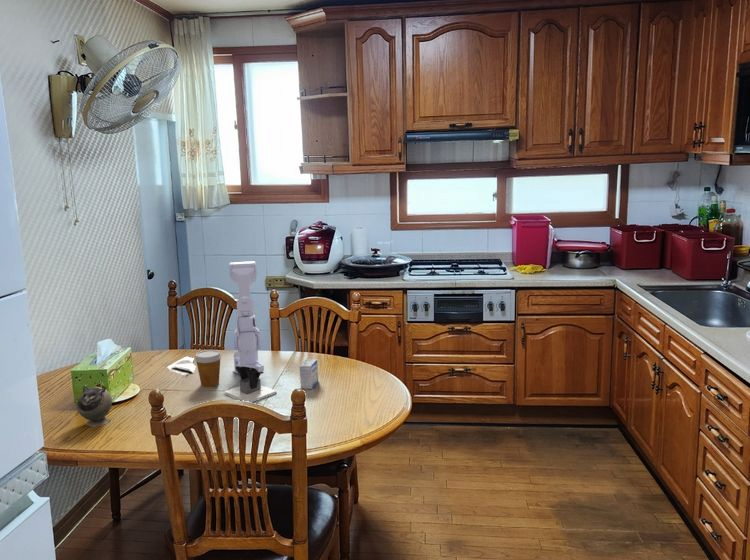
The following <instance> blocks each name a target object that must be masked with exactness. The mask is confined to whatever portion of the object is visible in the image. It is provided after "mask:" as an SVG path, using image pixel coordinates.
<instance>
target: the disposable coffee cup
mask: <svg viewBox="0 0 750 560" xmlns="http://www.w3.org/2000/svg"><path fill="white" fill-rule="evenodd" d="M221 358H222V354H221V352H220V351H219V350H216V349H205V350H201V351H198V352H196V353H195V357H194V360H195V362H196V368H197V370H198V376H199V379H200V385H201V386H200V387H203V388H214V387H217V386H219V384H220V372H221V371H220V370H221Z"/></svg>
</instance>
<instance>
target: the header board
mask: <svg viewBox="0 0 750 560" xmlns="http://www.w3.org/2000/svg"><path fill="white" fill-rule="evenodd" d="M275 393H276V394H277V390H275V389H272V388H270V387H266V386H265V385H262V384H261V389H260V390H257V391H255V392H252V393H249V394H245V393H243V392H240V385H238V386H235V387H233V388H230V389H227V390H225V391H224V395H226V396H229V397H231V398H234V399H235V400H238V401H240V400H244V401H249V402H253V401H256V400H258V399H261V398H264V397H266V398H268V396H269V397H271V396H273V395H272V394H274V395H276V394H275ZM270 395H271V396H270ZM264 399H265V398H264ZM261 400H262V399H261ZM258 401H259V400H258ZM256 402H257V401H256ZM253 403H254V402H253Z"/></svg>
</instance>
